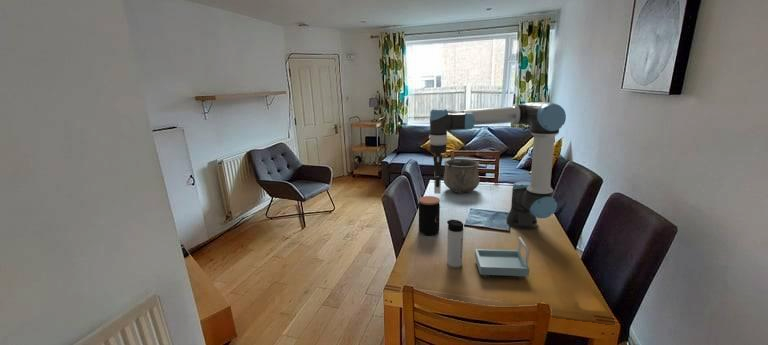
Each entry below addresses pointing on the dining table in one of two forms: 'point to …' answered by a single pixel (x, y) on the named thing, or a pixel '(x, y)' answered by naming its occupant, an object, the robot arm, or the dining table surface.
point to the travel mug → (455, 244)
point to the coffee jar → (429, 215)
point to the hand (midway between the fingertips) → (437, 188)
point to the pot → (461, 175)
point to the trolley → (503, 262)
